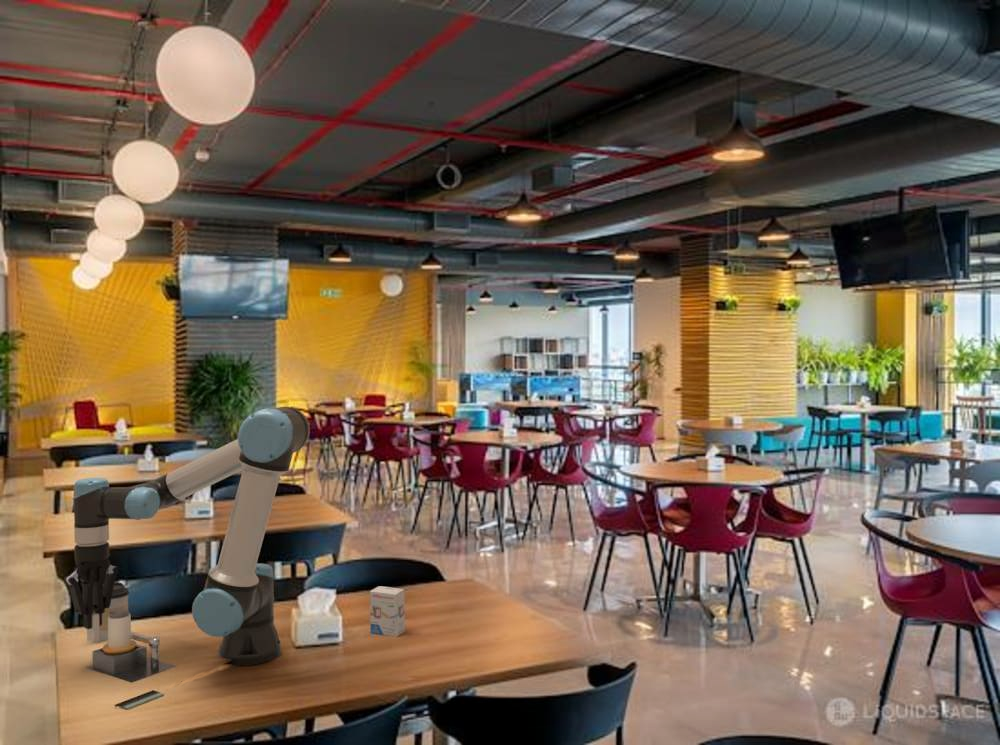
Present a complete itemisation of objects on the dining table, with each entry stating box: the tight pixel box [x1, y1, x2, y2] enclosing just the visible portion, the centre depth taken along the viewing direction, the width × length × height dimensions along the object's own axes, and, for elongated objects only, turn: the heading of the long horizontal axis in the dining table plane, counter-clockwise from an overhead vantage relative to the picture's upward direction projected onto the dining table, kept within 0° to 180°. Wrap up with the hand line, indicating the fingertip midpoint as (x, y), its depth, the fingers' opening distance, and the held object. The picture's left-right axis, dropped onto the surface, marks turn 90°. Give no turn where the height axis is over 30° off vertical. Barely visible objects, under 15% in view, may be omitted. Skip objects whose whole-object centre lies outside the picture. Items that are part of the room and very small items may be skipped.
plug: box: [102, 609, 137, 656], centre depth 201 cm, size 7×7×13 cm
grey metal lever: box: [131, 631, 161, 647], centre depth 204 cm, size 18×2×2 cm, turn 58°
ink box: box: [369, 585, 406, 637], centre depth 229 cm, size 9×5×12 cm, turn 68°
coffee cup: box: [93, 581, 130, 644], centre depth 223 cm, size 9×9×15 cm
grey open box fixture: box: [85, 643, 178, 684], centre depth 200 cm, size 18×12×7 cm, turn 58°
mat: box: [114, 689, 165, 710], centre depth 185 cm, size 9×9×1 cm
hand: (93, 640), depth 202 cm, fingers closed
